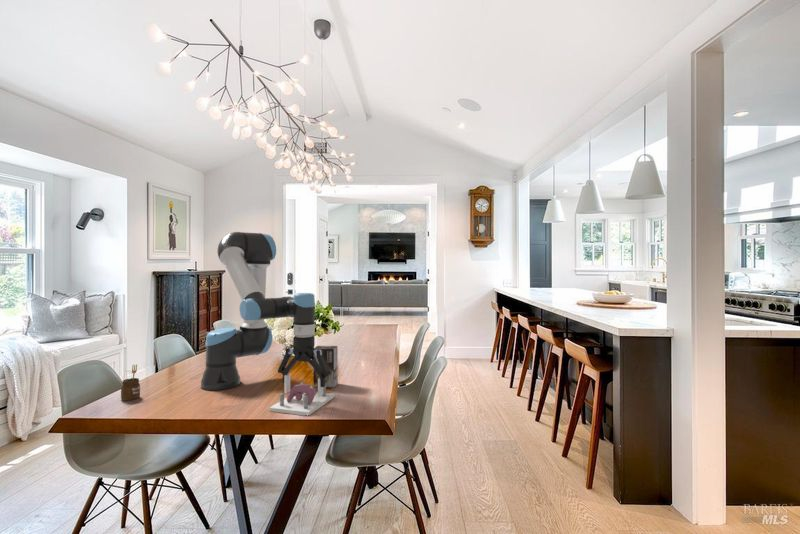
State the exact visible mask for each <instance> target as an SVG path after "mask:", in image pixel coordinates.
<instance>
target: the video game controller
mask: <svg viewBox="0 0 800 534" xmlns="http://www.w3.org/2000/svg"><path fill="white" fill-rule="evenodd" d="M316 392H317V389H316V387H313V386H312V385H309V384H307V383H304V384H300V383H299V384H294V386H292V388H290V392H288V393H287V394H288V395H287V396H286V398H287V402H290V401H291V400H292V399H293V398H294V396H295V397H296V400H301V399H302V397H303V400H304V396H308V405H309V404H311V403H312V401H313V399H314V396H315V395H316ZM302 393H306V394H305V395H304V396H302Z"/></svg>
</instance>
